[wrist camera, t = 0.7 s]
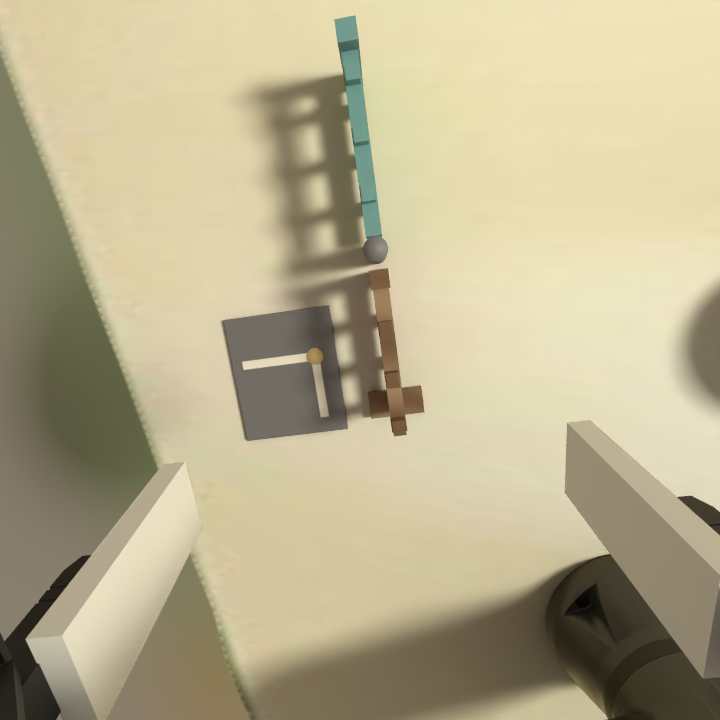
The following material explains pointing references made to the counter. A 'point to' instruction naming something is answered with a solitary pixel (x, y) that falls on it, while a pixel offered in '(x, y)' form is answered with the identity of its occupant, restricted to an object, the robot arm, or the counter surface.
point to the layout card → (287, 373)
